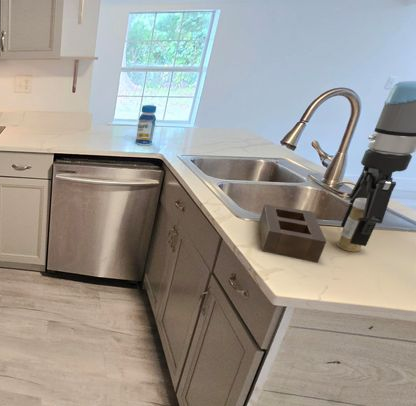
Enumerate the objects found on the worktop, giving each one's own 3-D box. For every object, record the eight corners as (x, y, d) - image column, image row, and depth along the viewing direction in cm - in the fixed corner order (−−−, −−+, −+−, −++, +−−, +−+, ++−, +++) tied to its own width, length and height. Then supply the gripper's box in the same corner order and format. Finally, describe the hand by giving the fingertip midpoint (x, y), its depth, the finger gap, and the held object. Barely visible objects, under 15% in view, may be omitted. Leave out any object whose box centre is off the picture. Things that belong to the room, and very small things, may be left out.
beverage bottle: (155, 144, 195) (162, 106, 187) (142, 146, 193) (148, 107, 185) (144, 141, 202) (150, 104, 194) (131, 142, 200) (137, 105, 192)
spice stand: (306, 230, 104) (313, 211, 102) (317, 262, 89) (326, 241, 87) (258, 222, 110) (264, 204, 107) (262, 251, 95) (269, 230, 92)
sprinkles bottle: (362, 254, 92) (384, 205, 87) (337, 249, 94) (358, 202, 89) (357, 246, 96) (378, 199, 90) (334, 241, 98) (353, 195, 93)
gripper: (355, 139, 95) (325, 216, 104) (381, 161, 78) (342, 251, 87) (396, 142, 91) (361, 221, 100) (432, 166, 74) (386, 259, 83)
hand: (352, 235), depth 94 cm, fingers open, 10 cm apart
